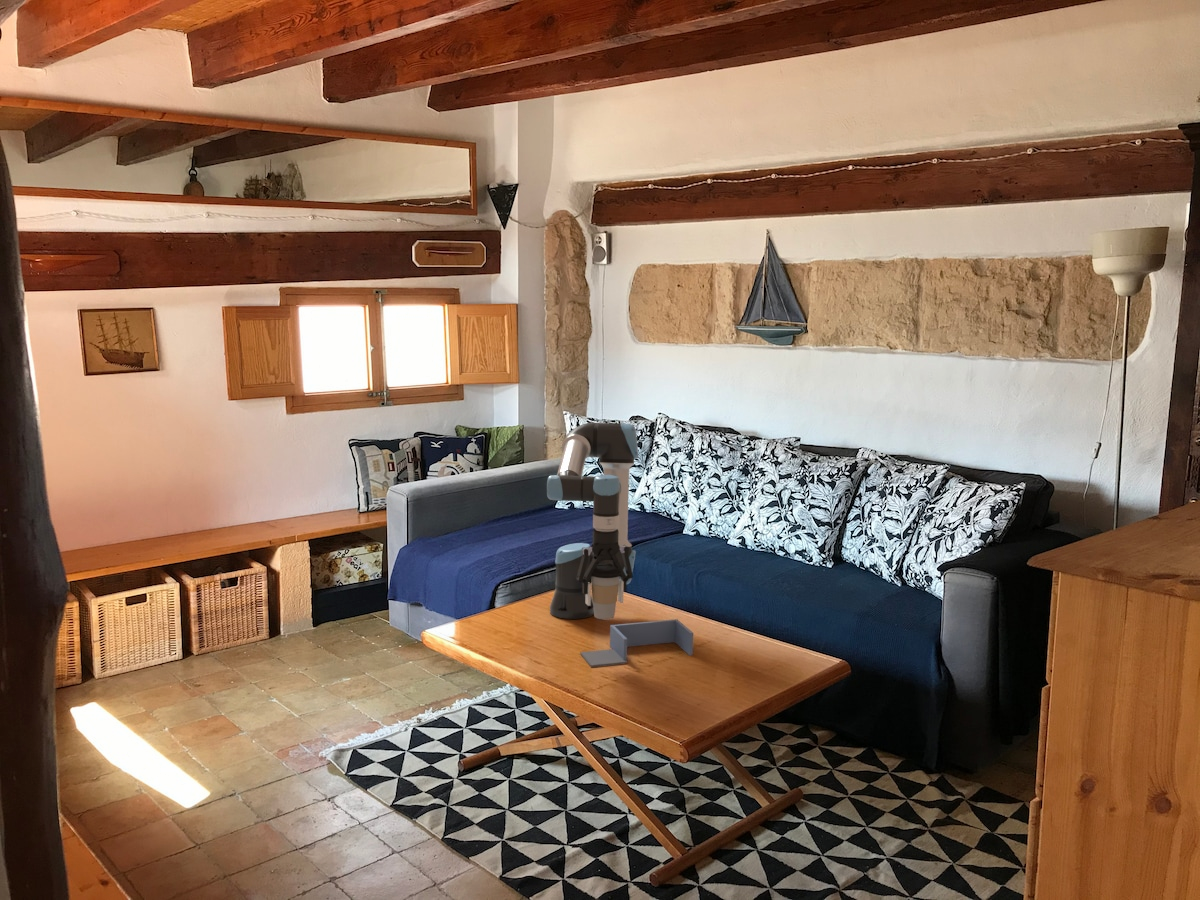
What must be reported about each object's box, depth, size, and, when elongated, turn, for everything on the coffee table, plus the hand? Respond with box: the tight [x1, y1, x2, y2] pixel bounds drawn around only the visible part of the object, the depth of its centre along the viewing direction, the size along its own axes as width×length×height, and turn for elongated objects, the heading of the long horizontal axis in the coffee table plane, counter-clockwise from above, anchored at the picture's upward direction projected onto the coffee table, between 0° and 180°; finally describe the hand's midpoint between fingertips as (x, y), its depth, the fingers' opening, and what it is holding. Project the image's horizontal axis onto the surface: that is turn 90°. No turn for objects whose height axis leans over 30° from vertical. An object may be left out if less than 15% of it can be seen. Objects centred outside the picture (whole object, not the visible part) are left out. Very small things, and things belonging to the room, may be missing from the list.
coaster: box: [579, 648, 628, 668], centre depth 295 cm, size 11×11×1 cm
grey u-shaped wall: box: [609, 618, 694, 662], centre depth 301 cm, size 13×22×7 cm, turn 108°
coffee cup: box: [591, 564, 621, 621], centre depth 291 cm, size 9×9×15 cm
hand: (604, 603), depth 292 cm, fingers closed on coffee cup, 9 cm apart
